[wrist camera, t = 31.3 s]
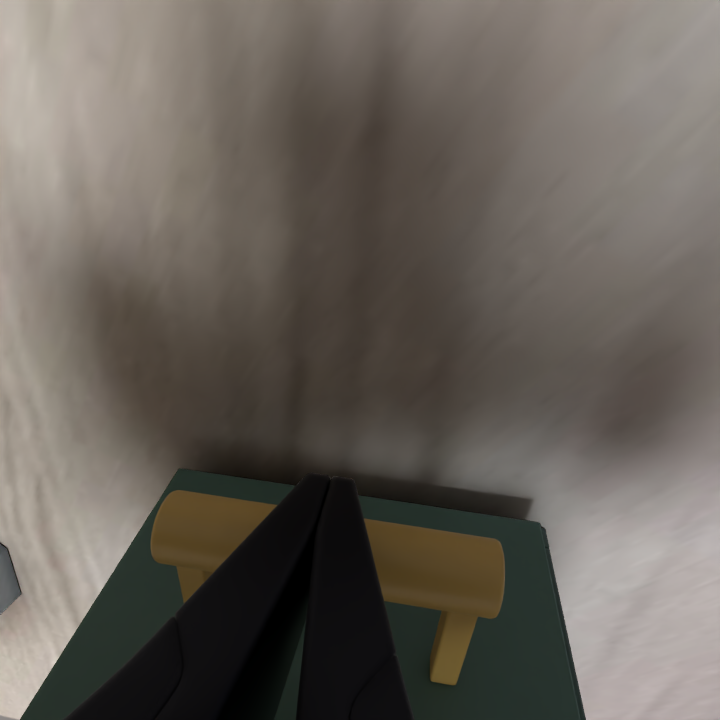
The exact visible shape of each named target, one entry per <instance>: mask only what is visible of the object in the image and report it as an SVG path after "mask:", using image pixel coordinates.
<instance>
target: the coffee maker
mask: <svg viewBox="0 0 720 720" xmlns="http://www.w3.org/2000/svg"><path fill="white" fill-rule="evenodd" d="M20 595H21V593H20V589H19V586H18V583H17V580H16V577H15V573H14V570H13V567H12V564H11V560H10V557H9V554H8V551H7V549H6V548H5V547H4V546H2V545H1V544H0V615H1V614H2V613H3V612H4V611H5V610H6V609H7V608H8V607H9V606H10V605H11V604H12V603H13V602H14V601H15V600H16V599H17V598H18V597H19V596H20Z"/></svg>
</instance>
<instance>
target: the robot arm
mask: <svg viewBox="0 0 720 720" xmlns="http://www.w3.org/2000/svg"><path fill="white" fill-rule="evenodd" d="M305 621H306V625H305V635H304V644H303V654H302V663H301V673H300V682H299V692H298V702H297V711H296V720H415V719H414V715H413V712H412V708H411V705H410V701H409V697H408V694H407V690H406V687H405V683H404V679H403V675H402V671H401V667H400V663H399V659H398V656H396V648H395V644H394V639H393V635H392V631H391V627H390V623H389V619H388V615H387V611H386V607H385V603H384V599H383V594H382V590H381V586H380V582H379V578H378V574H377V570H376V566H375V562H374V558H373V553H372V549H371V545H370V541H369V537H368V533H367V529H366V525H365V521H364V517H363V513H362V508H361V504H360V500H359V496H358V492H357V488H356V484H355V481H354V480H353V479H351V478H344V477H337V476H334V477H333V478H332V479H330V477H329V476H328V475H324V474H317V473H308V474H307V475H306V476H304V478H303V479H302V480H301V481H300V482H299V483H298V484H297V485H296V486H295V487H294V488H293V489H292V490H291V491H290V492H289V493H288V494H287V495H286V497H285V498H284V499H283V500H282V501H281V502H280V503H279V504H278V505H277V506H276V507H275V508H274V509H273V510H272V511H271V512H270V513H269V514H268V515H267V517H266V518H265V519H264V520H263V521H262V522H261V523H260V524H259V525H258V526H257V527H256V528H255V529H254V530H253V531H252V532H251V533H250V534H249V535H248V537H247V538H246V539H245V540H244V541H243V542H242V543H241V544H240V545H239V546H238V547H237V548H236V549H235V550H234V551H233V552H232V553H231V554H230V556H229V557H228V558H227V559H226V560H225V561H224V562H223V563H222V564H221V565H220V566H219V567H218V568H217V569H216V570H215V571H214V572H213V573H212V574H211V576H210V577H209V578H208V579H207V580H206V581H205V582H204V583H203V584H202V585H201V586H200V587H199V588H198V589H197V590H196V591H195V592H194V593H193V594H192V596H191V597H190V598H189V599H188V600H187V601H186V602H185V603H184V604H183V605H182V606H181V607H180V608H179V609H178V610H177V611H176V613H175V617H174V616H172V617H170V618H169V619H168V620H167V622H166V623H165V624H164V625H163V626H162V627H161V628H160V629H159V630H158V631H157V632H156V633H155V634H154V635H153V636H152V637H151V638H150V639H149V640H148V641H147V642H146V643H145V644H144V645H143V646H142V647H141V648H140V649H139V650H138V651H137V652H136V653H135V654H134V655H133V656H132V657H131V658H130V659H129V660H128V661H127V662H126V663H125V664H124V665H123V666H122V667H121V668H120V669H119V670H118V671H117V672H116V673H115V674H113V675H112V676H111V677H110V678H109V679H108V680H107V681H106V682H105V683H104V684H102V685H101V686H100V687H99V688H98V689H97V690H96V691H95V692H94V693H93V694H91V695H90V696H89V697H88V698H87V699H86V700H85V701H84V702H82V703H81V704H80V705H79V706H78V707H77V708H76V709H74V710H73V711H72V712H71V713H70V714H69V715H68V716H66V717H65V718H64V719H63V720H274V718H275V715H276V712H277V709H278V706H279V703H280V699H281V696H282V693H283V690H284V687H285V684H286V681H287V677H288V674H289V671H290V668H291V665H292V662H293V658H294V655H295V652H296V649H297V646H298V643H299V640H300V636H301V633H302V630H303V627H304V624H305Z"/></svg>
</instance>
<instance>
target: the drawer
mask: <svg viewBox="0 0 720 720" xmlns="http://www.w3.org/2000/svg"><path fill="white" fill-rule="evenodd" d="M294 487H295V486H294V485H287V484H281V483H274V482H267V481H261V480H254V479H248V478H241V477H234V476H228V475H221V474H214V473H208V472H201V471H195V470H188V469H181V468H180V469H178V471H177V472H176V474H175V475H174V477H173V478H172V480H171V482H170V483H169V485H168V486H167V488H166V490H165V491H164V493H163V494H162V496H161V497H160V499H159V501H158V502H157V504H156V505H155V507H154V509H153V510H152V512H151V513H150V515H149V516H148V518H147V520H146V521H145V523H144V524H143V526H142V527H141V529H140V531H139V532H138V534H137V535H136V537H135V539H134V540H133V542H132V543H131V545H130V546H129V548H128V550H127V551H126V553H125V554H124V556H123V557H122V559H121V561H120V562H119V564H118V565H117V567H116V569H115V570H114V572H113V573H112V575H111V576H110V578H109V580H108V581H107V583H106V584H105V586H104V588H103V589H102V591H101V592H100V594H99V595H98V597H97V599H96V600H95V602H94V603H93V605H92V606H91V608H90V610H89V611H88V613H87V614H86V616H85V618H84V619H83V621H82V622H81V624H80V625H79V627H78V629H77V630H76V632H75V633H74V635H73V636H72V638H71V640H70V641H69V643H68V644H67V646H66V648H65V649H64V651H63V652H62V654H61V655H60V657H59V659H58V660H57V662H56V663H55V665H54V666H53V668H52V670H51V671H50V673H49V674H48V676H47V678H46V679H45V681H44V682H43V684H42V685H41V687H40V689H39V690H38V692H37V693H36V695H35V697H34V698H33V700H32V701H31V703H30V704H29V706H28V708H27V709H26V711H25V712H24V714H23V715H22V717H21V719H20V720H63V719H64V718H65V717H66V716H68V715H69V714H70V713H71V712H72V711H73V710H74V709H76V708H77V707H78V706H79V705H80V704H81V703H82V702H84V701H85V700H86V699H87V698H88V697H89V696H90V695H91V694H93V693H94V692H95V691H96V690H97V689H98V688H99V687H100V686H101V685H102V684H104V683H105V682H106V681H107V680H108V679H109V678H110V677H111V676H112V675H113V674H115V673H116V672H117V671H118V670H119V669H120V668H121V667H122V666H123V665H124V664H125V663H126V662H127V661H128V660H129V659H130V658H131V657H132V656H133V655H134V654H135V653H136V652H137V651H138V650H139V649H140V648H141V647H142V646H143V645H144V644H145V643H146V642H147V641H148V640H149V639H150V638H151V637H152V636H153V635H154V634H155V633H156V632H157V631H158V630H159V629H160V628H161V627H162V626H163V625H164V624H165V623H166V622H167V620H168V619H169V618H170V617H172V616H174V617H175V613H176V611H177V610H178V609H179V608H180V607H181V606H182V605H183V604H184V603H185V602H186V601H187V600H188V599H189V598H190V597H191V596H192V594H193V593H194V592H195V591H196V590H197V589H198V588H199V587H200V586H201V585H202V584H203V583H204V582H205V581H206V580H207V579H208V578H209V577H210V576H211V574H212V573H213V572H214V571H215V570H216V569H217V568H218V567H219V566H220V565H221V564H222V563H223V562H224V561H225V560H226V559H227V558H228V557H229V556H230V554H231V553H232V552H233V551H234V550H235V549H236V548H237V547H238V546H239V545H240V544H241V543H242V542H243V541H244V540H245V539H246V538H247V537H248V535H249V534H250V533H251V532H252V531H253V530H254V529H255V528H256V527H257V526H258V525H259V524H260V523H261V522H262V521H263V520H264V519H265V518H266V517H267V515H268V514H269V513H270V512H271V511H272V510H273V509H274V508H275V507H276V506H277V505H278V504H279V503H280V502H281V501H282V500H283V499H284V498H285V497H286V495H287V494H288V493H289V492H290V491H291V490H292V489H293V488H294ZM358 496H359V500H360V504H361V508H362V513H363V517H364V521H365V525H366V529H367V533H368V537H369V541H370V545H371V549H372V553H373V558H374V562H375V566H376V570H377V574H378V578H379V582H380V586H381V590H382V594H383V599H384V603H385V607H386V611H387V615H388V619H389V623H390V627H391V631H392V635H393V639H394V644H395V648H396V656H398V659H399V663H400V667H401V671H402V675H403V679H404V683H405V687H406V690H407V694H408V697H409V701H410V705H411V708H412V712H413V715H414V719H415V720H581V719H580V714H579V709H578V704H577V699H576V695H575V690H574V685H573V680H572V675H571V670H570V666H569V661H568V656H567V651H566V646H565V641H564V637H563V632H562V627H561V622H560V617H559V612H558V608H557V603H556V598H555V593H554V588H553V583H552V579H551V574H550V569H549V564H548V559H547V554H546V550H545V545H544V540H543V535H542V530H541V525H540V523H539V522H533V521H526V520H520V519H513V518H506V517H500V516H493V515H486V514H480V513H473V512H466V511H460V510H453V509H447V508H440V507H433V506H427V505H420V504H413V503H407V502H400V501H394V500H387V499H380V498H374V497H367V496H360V495H358ZM305 625H306V621H305V624H304V627H303V630H302V633H301V636H300V640H299V643H298V646H297V649H296V652H295V655H294V658H293V662H292V665H291V668H290V671H289V674H288V677H287V681H286V684H285V687H284V690H283V693H282V696H281V699H280V703H279V706H278V709H277V712H276V715H275V718H274V720H296V711H297V702H298V692H299V682H300V673H301V663H302V654H303V644H304V635H305Z"/></svg>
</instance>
